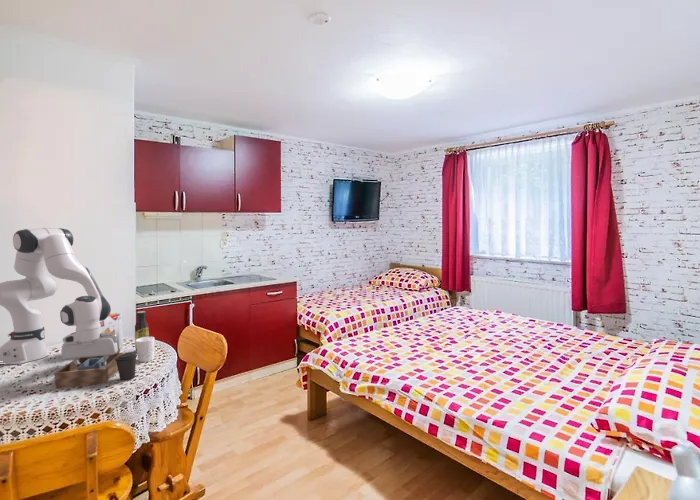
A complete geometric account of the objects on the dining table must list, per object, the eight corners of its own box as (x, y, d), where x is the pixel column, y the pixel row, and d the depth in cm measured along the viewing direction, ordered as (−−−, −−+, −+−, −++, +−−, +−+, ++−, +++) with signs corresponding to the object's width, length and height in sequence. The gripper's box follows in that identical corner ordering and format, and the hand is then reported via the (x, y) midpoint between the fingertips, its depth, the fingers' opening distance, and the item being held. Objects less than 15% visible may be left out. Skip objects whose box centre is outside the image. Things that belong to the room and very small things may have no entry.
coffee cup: (142, 373, 165) (140, 351, 164) (132, 381, 156) (130, 357, 156) (123, 374, 164) (121, 351, 164) (112, 382, 156) (110, 358, 155)
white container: (103, 344, 207) (101, 312, 206) (130, 344, 206) (128, 312, 205) (83, 354, 192) (80, 319, 191) (112, 353, 192) (109, 319, 190)
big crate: (55, 388, 152) (54, 373, 152) (79, 369, 172) (78, 356, 171) (106, 383, 156) (104, 368, 156) (124, 365, 176) (123, 352, 175)
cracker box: (97, 366, 175) (93, 321, 174) (86, 365, 177) (82, 320, 175) (121, 355, 189) (117, 313, 187) (110, 354, 190) (107, 313, 189)
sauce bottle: (139, 353, 191) (137, 314, 190) (133, 351, 194) (130, 312, 193) (152, 349, 197) (150, 311, 195) (145, 347, 200) (143, 310, 198)
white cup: (134, 360, 182) (133, 339, 181) (152, 355, 188) (150, 335, 187) (140, 364, 176) (139, 342, 176) (158, 359, 182) (157, 338, 181)
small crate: (78, 379, 158) (77, 367, 158) (89, 370, 168) (88, 358, 168) (94, 377, 160) (93, 365, 159) (104, 368, 169) (103, 357, 169)
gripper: (118, 330, 168) (121, 361, 169) (65, 334, 164) (68, 366, 165) (113, 334, 162) (115, 366, 163) (58, 339, 157) (60, 371, 159)
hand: (91, 366), depth 164 cm, fingers open, 8 cm apart
